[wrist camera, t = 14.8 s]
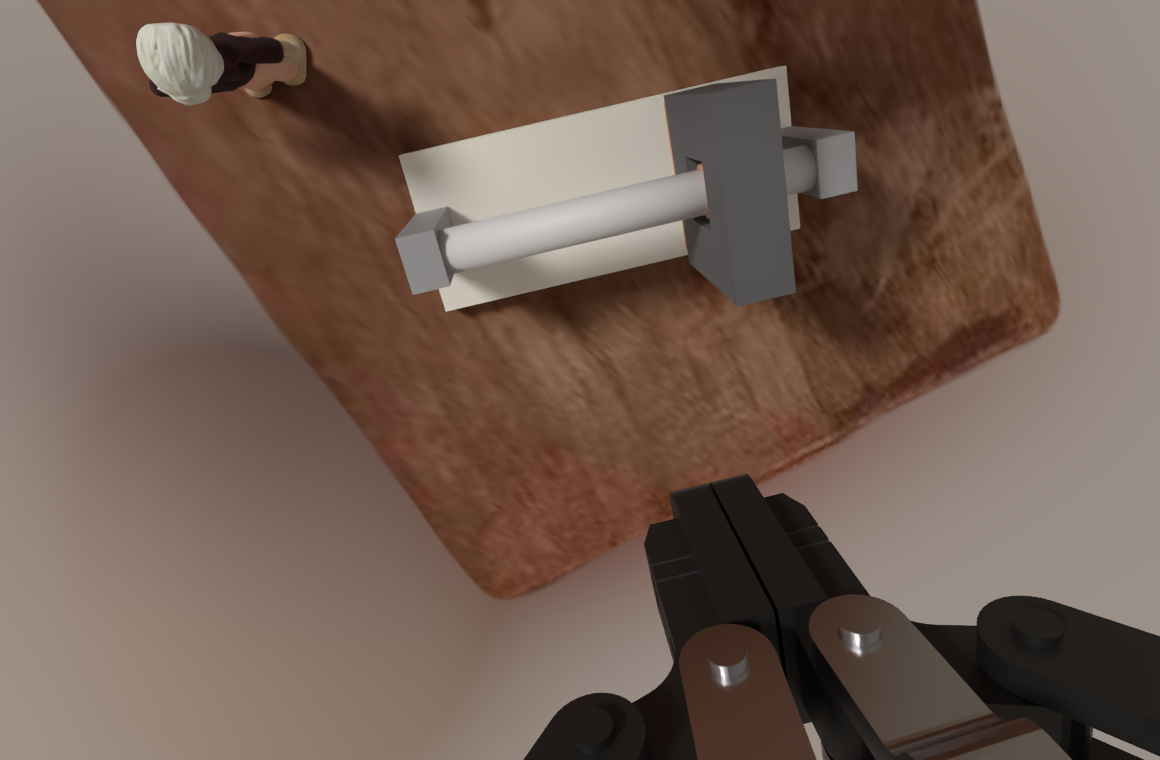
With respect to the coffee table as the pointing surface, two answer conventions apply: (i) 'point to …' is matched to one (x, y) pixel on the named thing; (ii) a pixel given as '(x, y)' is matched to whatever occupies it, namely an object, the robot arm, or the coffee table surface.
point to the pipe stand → (579, 197)
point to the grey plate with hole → (736, 187)
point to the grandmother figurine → (216, 62)
